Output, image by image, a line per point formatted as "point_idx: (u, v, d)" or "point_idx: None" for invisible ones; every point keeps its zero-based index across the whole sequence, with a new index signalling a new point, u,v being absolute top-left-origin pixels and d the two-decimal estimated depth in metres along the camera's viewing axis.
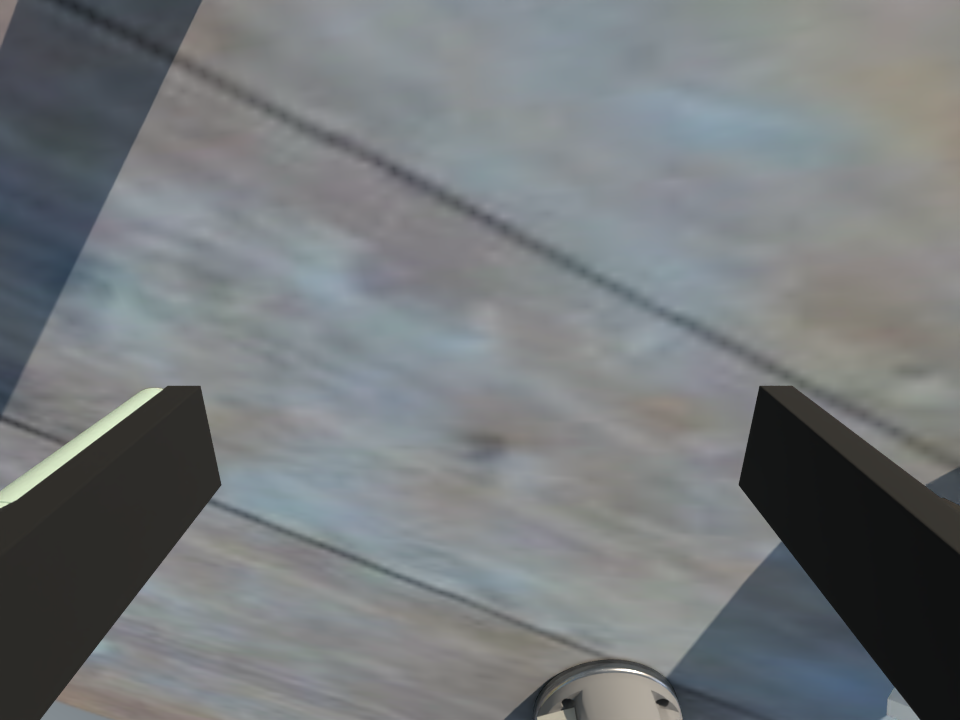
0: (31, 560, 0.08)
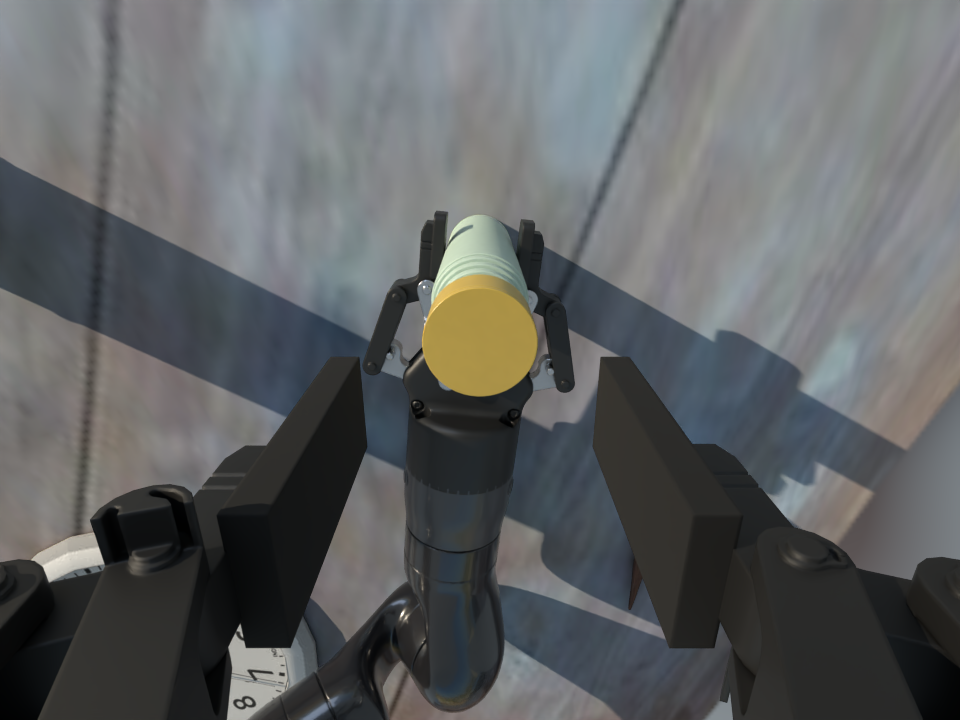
0: (299, 485, 0.09)
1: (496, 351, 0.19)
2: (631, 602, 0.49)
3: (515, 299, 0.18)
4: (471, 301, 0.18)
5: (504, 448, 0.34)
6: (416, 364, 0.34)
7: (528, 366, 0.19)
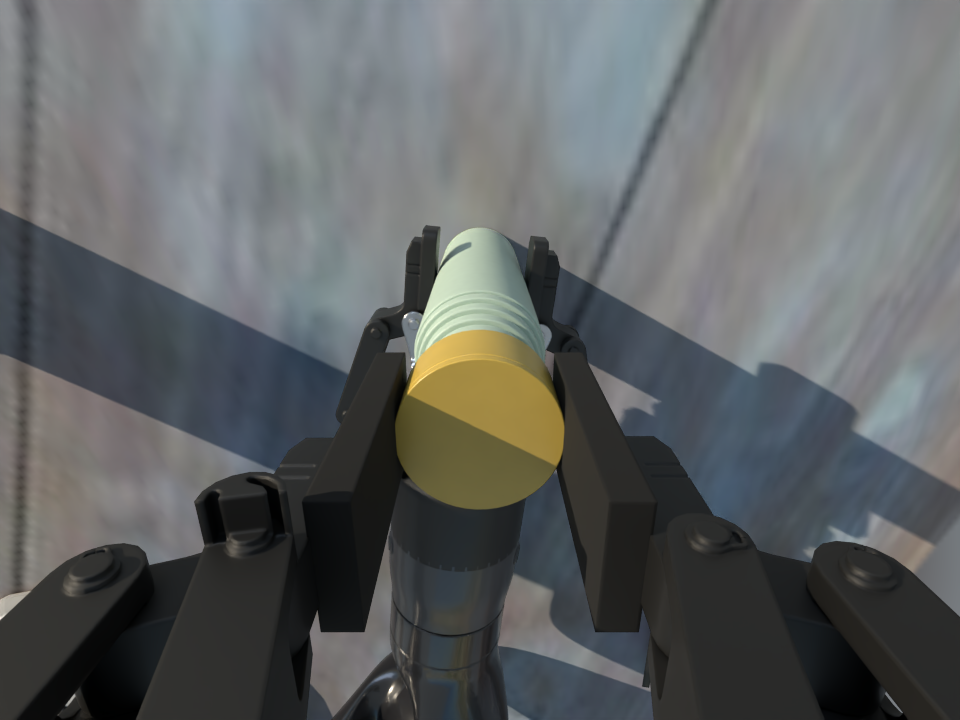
0: (369, 475, 0.10)
1: (504, 448, 0.13)
2: None
3: (533, 375, 0.12)
4: (466, 378, 0.12)
5: (510, 515, 0.28)
6: None
7: (550, 469, 0.13)
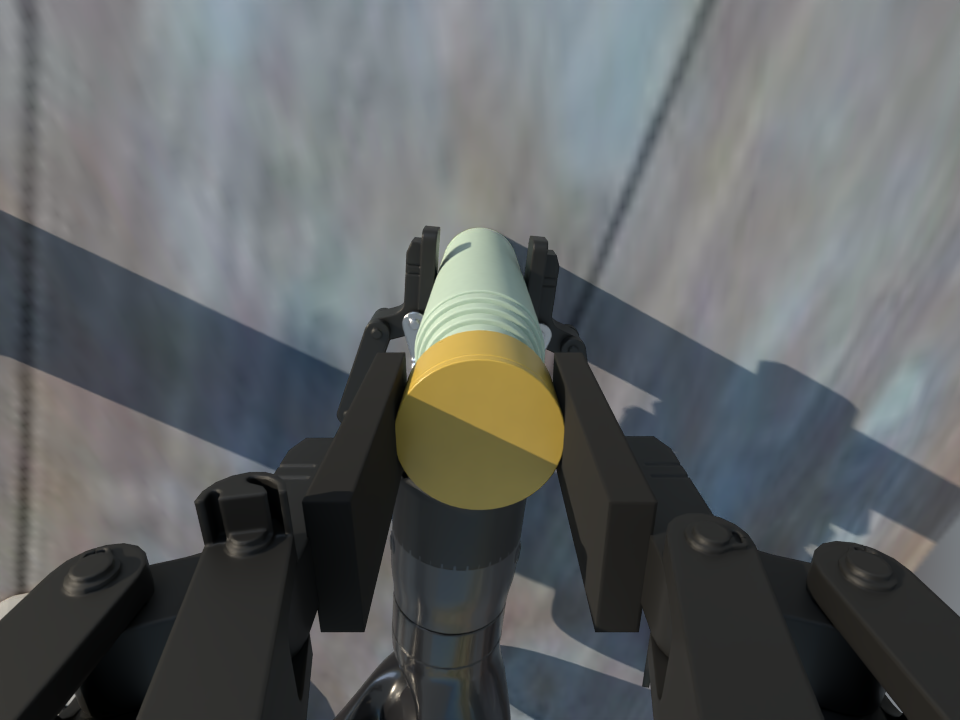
0: (369, 475, 0.10)
1: (482, 415, 0.12)
2: None
3: (397, 415, 0.12)
4: (422, 467, 0.13)
5: (511, 514, 0.28)
6: None
7: (490, 364, 0.12)
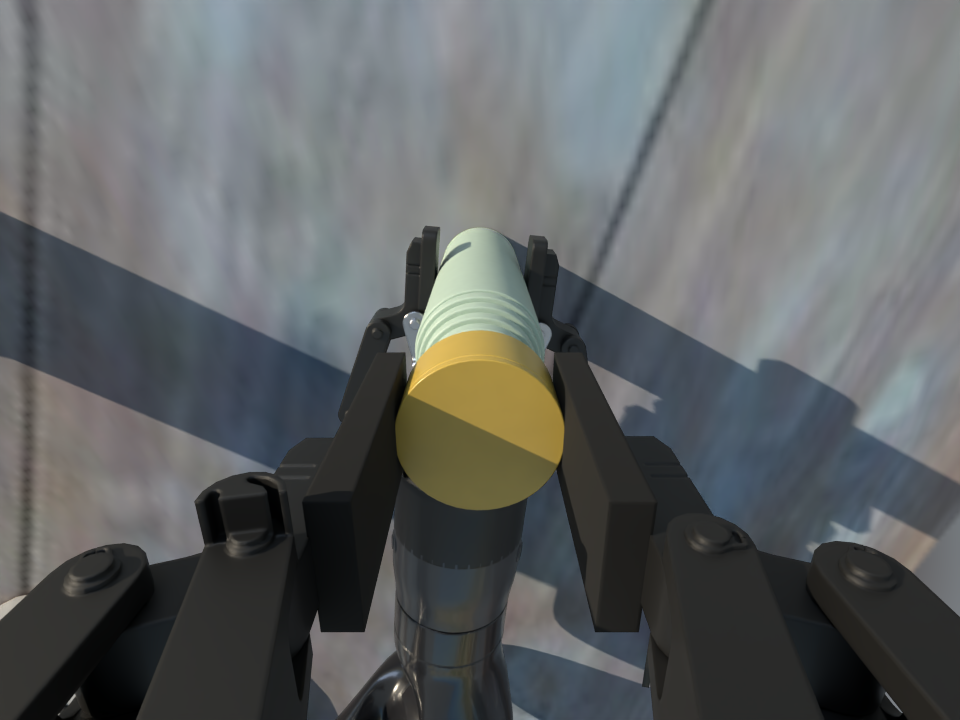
0: (369, 475, 0.10)
1: (453, 444, 0.13)
2: None
3: (481, 509, 0.13)
4: (528, 477, 0.13)
5: (512, 513, 0.28)
6: None
7: (401, 454, 0.13)
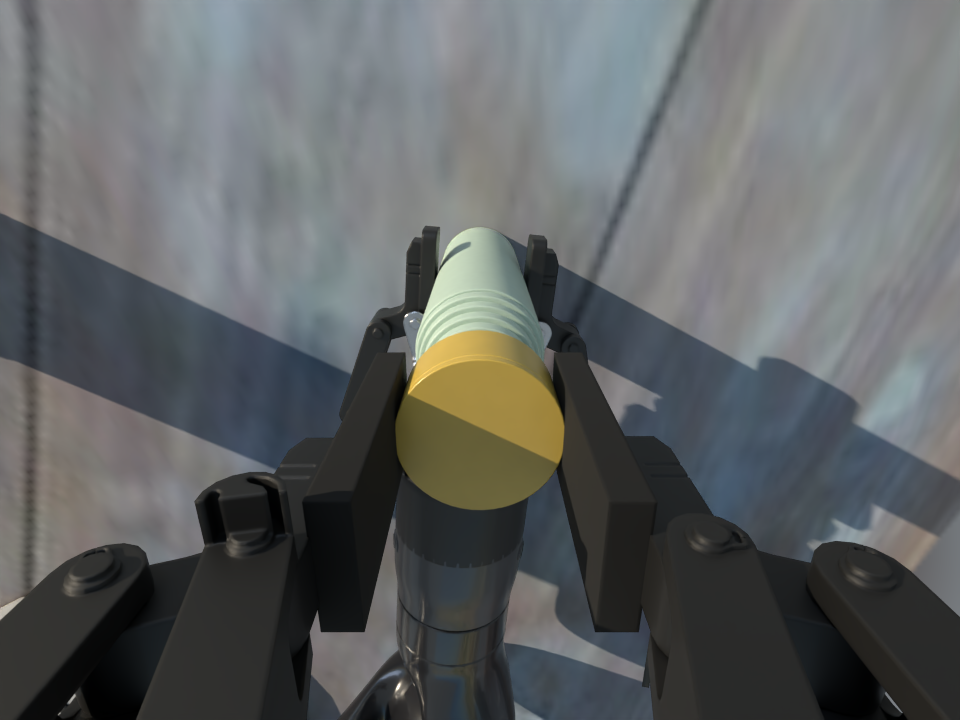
0: (369, 475, 0.10)
1: (494, 459, 0.13)
2: None
3: (561, 412, 0.12)
4: (506, 383, 0.12)
5: (513, 511, 0.28)
6: None
7: (520, 497, 0.13)
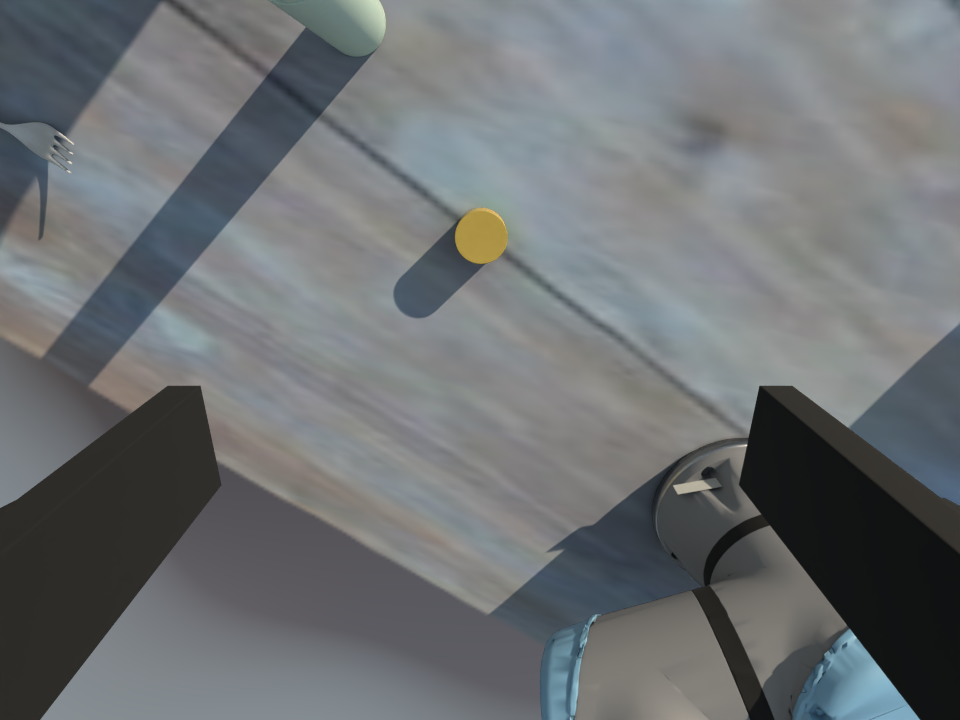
0: (29, 561, 0.08)
1: (486, 231, 0.41)
2: None
3: (464, 216, 0.41)
4: (460, 236, 0.41)
5: None
6: None
7: (497, 218, 0.41)
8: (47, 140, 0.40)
